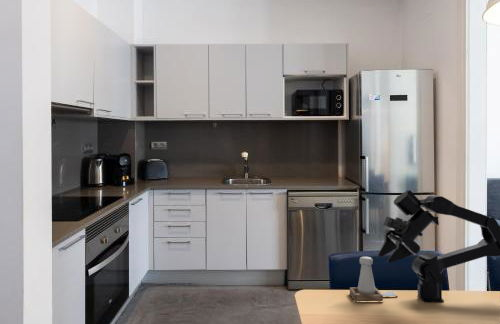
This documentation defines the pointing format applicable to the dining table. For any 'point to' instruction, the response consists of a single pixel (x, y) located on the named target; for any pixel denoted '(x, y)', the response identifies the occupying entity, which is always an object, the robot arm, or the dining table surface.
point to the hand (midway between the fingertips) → (383, 259)
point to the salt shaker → (366, 277)
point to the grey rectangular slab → (389, 294)
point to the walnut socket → (358, 297)
